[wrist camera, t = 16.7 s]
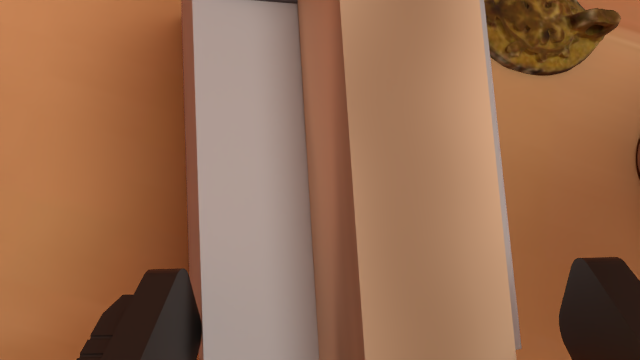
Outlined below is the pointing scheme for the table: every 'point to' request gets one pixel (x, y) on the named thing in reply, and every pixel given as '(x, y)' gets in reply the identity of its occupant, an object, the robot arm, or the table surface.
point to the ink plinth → (258, 180)
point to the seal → (544, 33)
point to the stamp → (403, 182)
